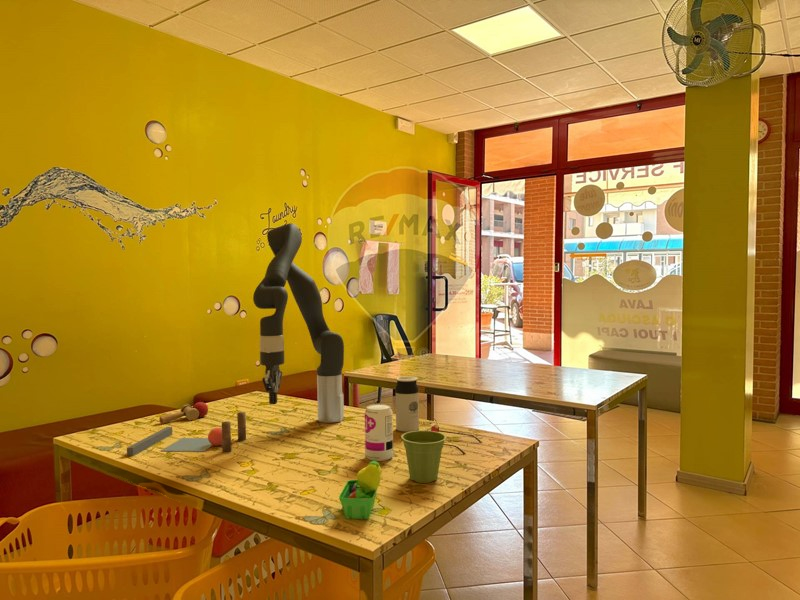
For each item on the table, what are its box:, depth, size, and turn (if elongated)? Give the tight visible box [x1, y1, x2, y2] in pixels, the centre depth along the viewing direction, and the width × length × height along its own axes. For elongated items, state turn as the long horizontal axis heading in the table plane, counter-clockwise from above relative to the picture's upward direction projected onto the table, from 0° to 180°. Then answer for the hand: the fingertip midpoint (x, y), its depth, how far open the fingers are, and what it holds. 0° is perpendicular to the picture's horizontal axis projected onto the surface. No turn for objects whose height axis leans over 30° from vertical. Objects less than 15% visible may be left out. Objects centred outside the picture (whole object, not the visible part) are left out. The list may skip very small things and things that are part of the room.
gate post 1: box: [221, 421, 232, 453], centre depth 172 cm, size 3×3×9 cm
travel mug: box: [395, 375, 420, 433], centre depth 194 cm, size 8×8×18 cm
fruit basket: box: [338, 460, 382, 520], centre depth 126 cm, size 11×9×11 cm
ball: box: [207, 427, 222, 447], centre depth 179 cm, size 6×6×6 cm
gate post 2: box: [236, 411, 247, 442], centre depth 185 cm, size 3×3×9 cm
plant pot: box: [400, 429, 447, 484], centre depth 146 cm, size 12×12×11 cm
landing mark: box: [160, 437, 214, 453], centre depth 180 cm, size 14×14×1 cm
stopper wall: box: [126, 426, 173, 457], centre depth 181 cm, size 2×24×2 cm, turn 175°
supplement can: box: [364, 403, 394, 462], centre depth 164 cm, size 8×8×15 cm
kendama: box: [159, 401, 209, 425], centre depth 213 cm, size 8×6×18 cm
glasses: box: [425, 425, 482, 455], centre depth 175 cm, size 14×16×5 cm
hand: (273, 403), depth 177 cm, fingers closed
